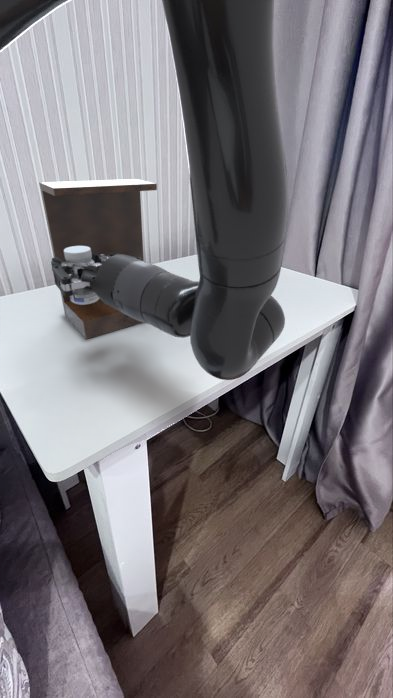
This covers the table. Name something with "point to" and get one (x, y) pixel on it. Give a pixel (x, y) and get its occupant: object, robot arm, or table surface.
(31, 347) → the table surface
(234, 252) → the robot arm
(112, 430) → the table surface
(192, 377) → the table surface
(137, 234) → the shelf
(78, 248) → the pill bottle
